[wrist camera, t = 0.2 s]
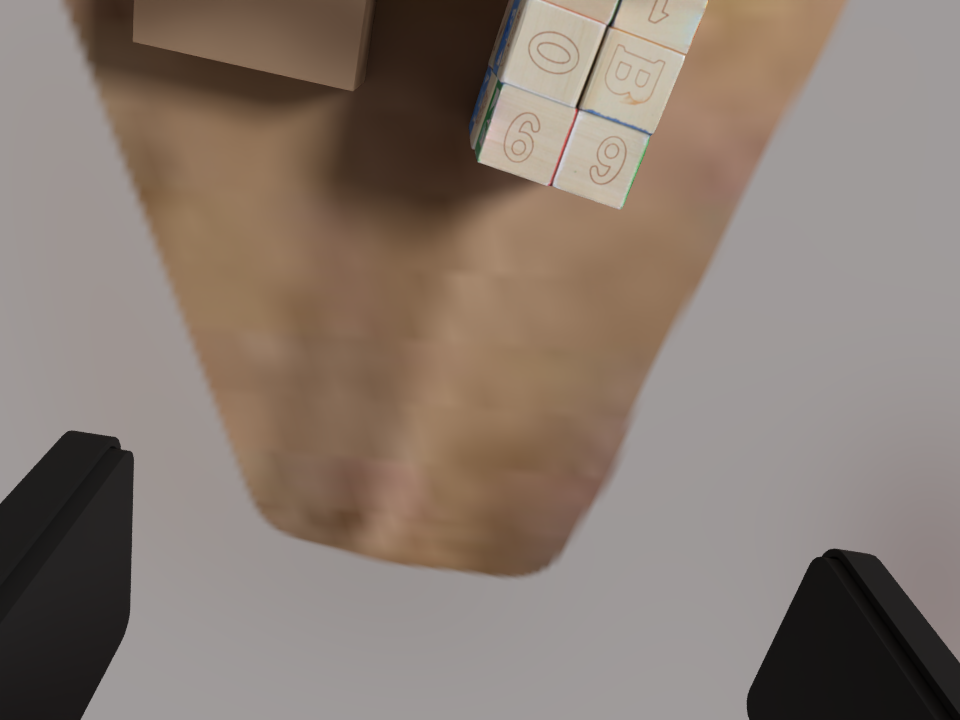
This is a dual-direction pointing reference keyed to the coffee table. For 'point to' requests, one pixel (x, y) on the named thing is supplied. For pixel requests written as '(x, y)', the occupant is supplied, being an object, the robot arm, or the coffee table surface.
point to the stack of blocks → (580, 90)
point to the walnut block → (266, 35)
